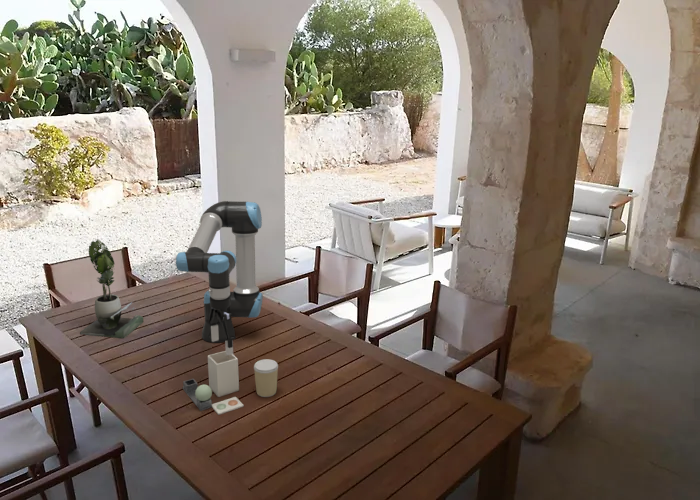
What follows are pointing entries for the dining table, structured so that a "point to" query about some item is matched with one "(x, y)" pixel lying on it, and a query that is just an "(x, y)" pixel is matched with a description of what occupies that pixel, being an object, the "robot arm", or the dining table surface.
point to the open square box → (223, 373)
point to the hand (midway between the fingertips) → (222, 347)
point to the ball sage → (203, 392)
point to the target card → (227, 405)
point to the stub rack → (190, 389)
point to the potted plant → (108, 300)
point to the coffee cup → (266, 377)
